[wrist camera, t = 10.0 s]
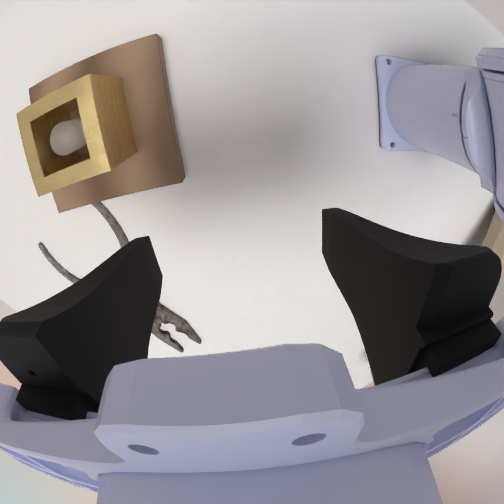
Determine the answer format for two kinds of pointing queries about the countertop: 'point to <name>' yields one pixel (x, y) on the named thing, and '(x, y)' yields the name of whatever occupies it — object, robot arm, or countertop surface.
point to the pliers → (162, 312)
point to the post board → (141, 117)
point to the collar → (94, 126)
